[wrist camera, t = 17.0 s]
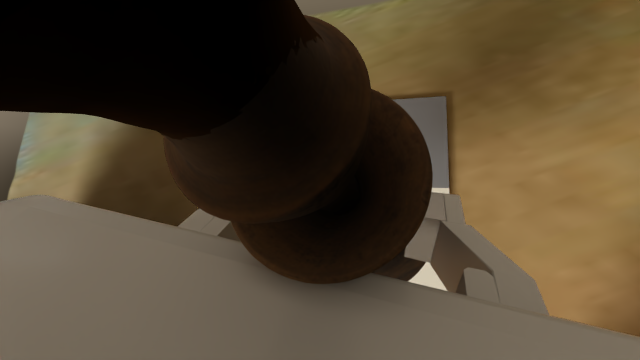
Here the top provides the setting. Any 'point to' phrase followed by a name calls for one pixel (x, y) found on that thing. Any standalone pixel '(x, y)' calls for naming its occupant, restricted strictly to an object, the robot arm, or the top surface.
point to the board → (434, 130)
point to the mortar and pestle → (239, 120)
